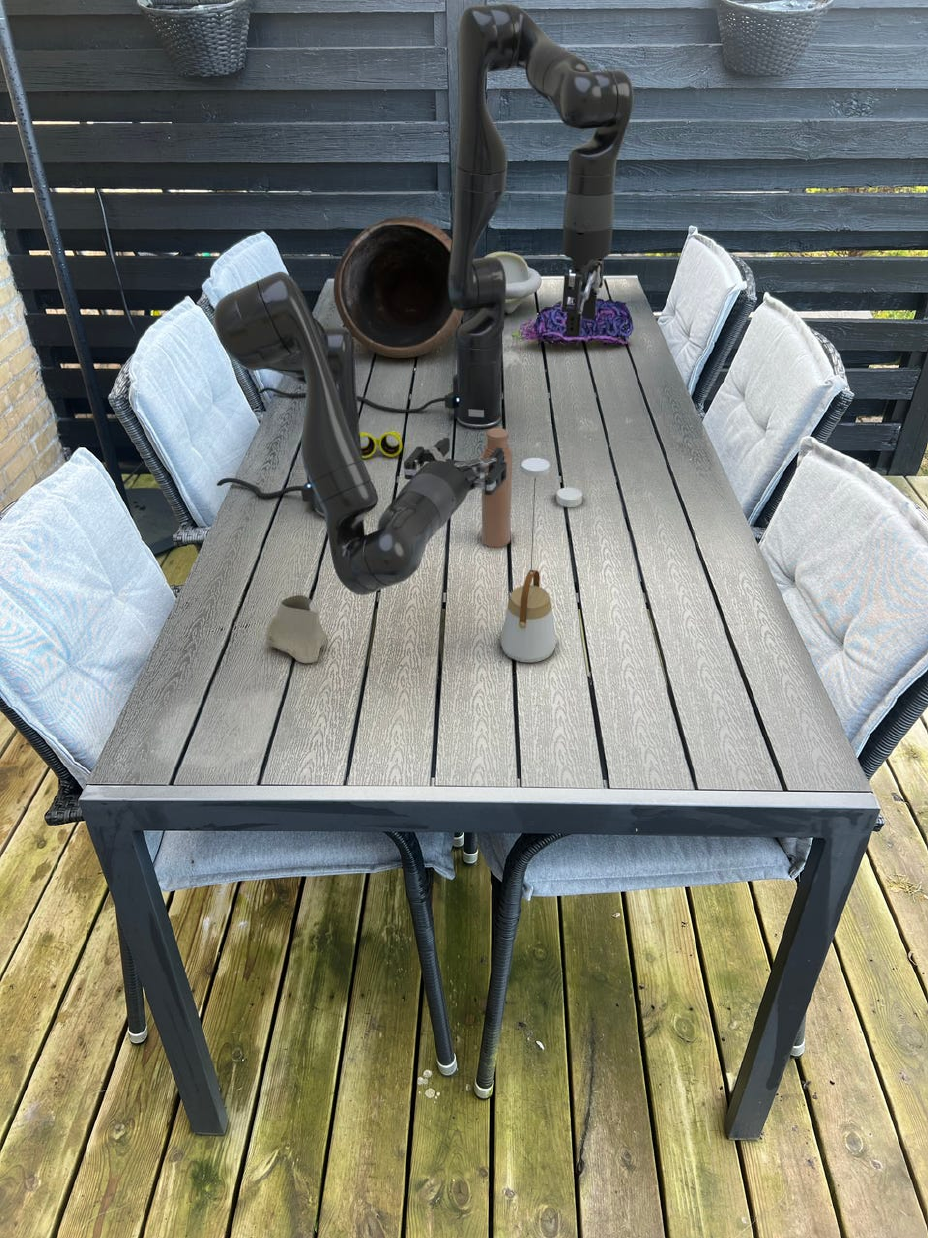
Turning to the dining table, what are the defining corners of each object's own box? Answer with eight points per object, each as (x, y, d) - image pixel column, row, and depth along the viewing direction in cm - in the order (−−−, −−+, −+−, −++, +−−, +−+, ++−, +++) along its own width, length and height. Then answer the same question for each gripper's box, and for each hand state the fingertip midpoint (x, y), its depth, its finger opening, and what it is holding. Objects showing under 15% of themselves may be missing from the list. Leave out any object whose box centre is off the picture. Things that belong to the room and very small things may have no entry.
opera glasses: (402, 450, 189) (400, 426, 187) (403, 457, 184) (401, 432, 182) (354, 452, 188) (352, 428, 186) (354, 460, 184) (352, 435, 182)
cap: (555, 506, 170) (555, 499, 169) (557, 493, 173) (557, 486, 172) (580, 508, 169) (581, 500, 168) (582, 495, 173) (582, 488, 172)
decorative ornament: (640, 324, 222) (516, 326, 219) (631, 360, 231) (512, 363, 228) (629, 291, 230) (509, 293, 227) (621, 327, 238) (506, 329, 236)
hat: (455, 295, 261) (454, 240, 252) (532, 292, 263) (534, 237, 254) (465, 327, 242) (464, 268, 233) (548, 323, 244) (550, 264, 235)
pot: (369, 208, 238) (367, 184, 209) (481, 265, 243) (494, 249, 214) (320, 328, 244) (311, 320, 215) (430, 381, 249) (435, 380, 220)
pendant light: (546, 668, 133) (557, 484, 115) (492, 656, 136) (495, 473, 117) (562, 635, 139) (574, 455, 121) (510, 624, 142) (515, 445, 123)
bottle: (509, 531, 163) (512, 425, 151) (511, 547, 159) (513, 439, 147) (481, 532, 163) (481, 425, 151) (481, 547, 159) (482, 439, 147)
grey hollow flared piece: (327, 654, 140) (334, 590, 137) (317, 670, 132) (324, 604, 130) (268, 645, 140) (274, 582, 137) (255, 661, 132) (261, 594, 130)
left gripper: (478, 484, 123) (518, 432, 135) (381, 465, 128) (429, 417, 140) (478, 532, 128) (517, 478, 140) (385, 512, 132) (431, 462, 144)
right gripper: (578, 208, 148) (571, 309, 158) (549, 231, 138) (544, 338, 147) (624, 212, 146) (614, 315, 155) (598, 236, 135) (590, 345, 145)
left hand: (473, 448), depth 140 cm, fingers open, 8 cm apart
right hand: (580, 326), depth 151 cm, fingers open, 8 cm apart
